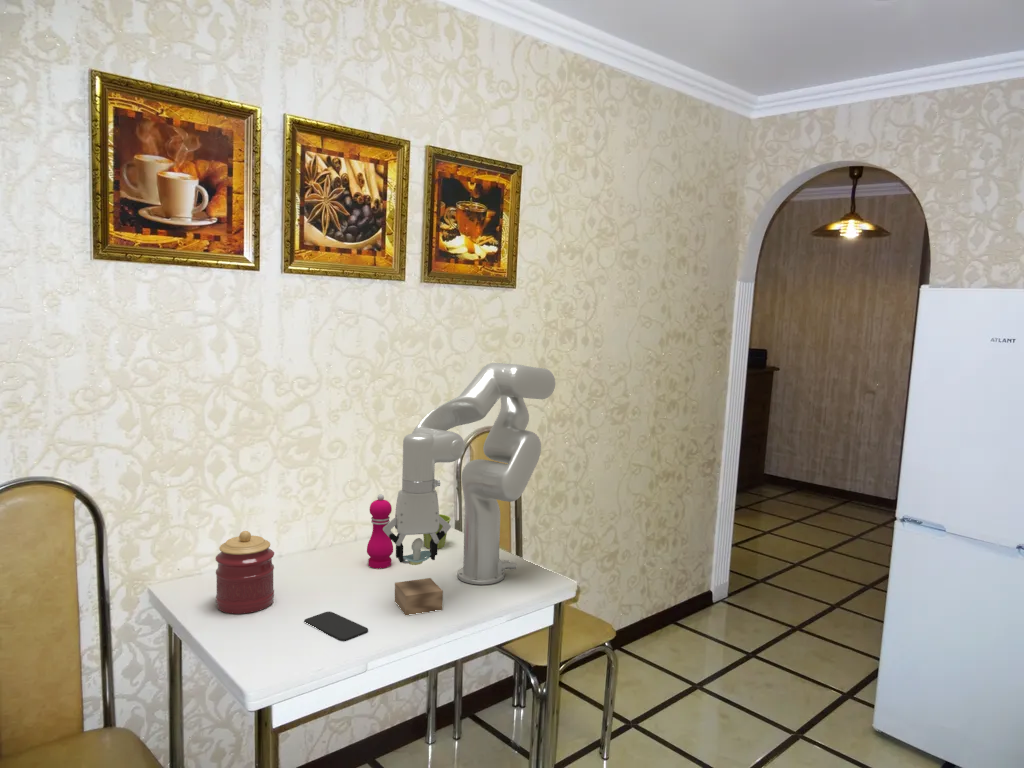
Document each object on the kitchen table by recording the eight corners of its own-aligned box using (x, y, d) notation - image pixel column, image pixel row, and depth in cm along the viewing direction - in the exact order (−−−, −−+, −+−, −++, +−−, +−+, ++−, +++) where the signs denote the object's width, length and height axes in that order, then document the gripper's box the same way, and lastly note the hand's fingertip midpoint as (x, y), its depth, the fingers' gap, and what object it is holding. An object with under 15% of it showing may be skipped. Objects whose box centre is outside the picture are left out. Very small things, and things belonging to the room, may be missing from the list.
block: (429, 597, 179) (430, 577, 178) (442, 611, 170) (442, 590, 170) (394, 602, 175) (394, 582, 174) (405, 616, 167) (405, 595, 166)
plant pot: (455, 544, 220) (456, 516, 219) (440, 553, 211) (441, 524, 211) (429, 539, 224) (429, 512, 223) (413, 548, 215) (413, 519, 214)
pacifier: (394, 563, 172) (409, 568, 168) (394, 537, 171) (409, 542, 167) (418, 556, 177) (434, 562, 173) (418, 531, 177) (434, 536, 172)
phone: (329, 610, 167) (370, 629, 158) (329, 613, 168) (370, 632, 158) (301, 620, 162) (342, 640, 152) (301, 623, 162) (342, 643, 152)
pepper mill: (398, 564, 201) (399, 493, 199) (380, 571, 195) (381, 498, 193) (379, 558, 205) (380, 489, 203) (361, 565, 199) (361, 494, 197)
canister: (215, 597, 174) (214, 525, 173) (271, 590, 179) (271, 521, 178) (216, 618, 162) (215, 541, 161) (276, 610, 167) (276, 536, 166)
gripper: (450, 481, 176) (448, 552, 178) (379, 483, 171) (377, 556, 173) (457, 488, 169) (455, 562, 171) (383, 491, 164) (381, 567, 166)
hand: (416, 558), depth 172 cm, fingers closed on pacifier, 7 cm apart
